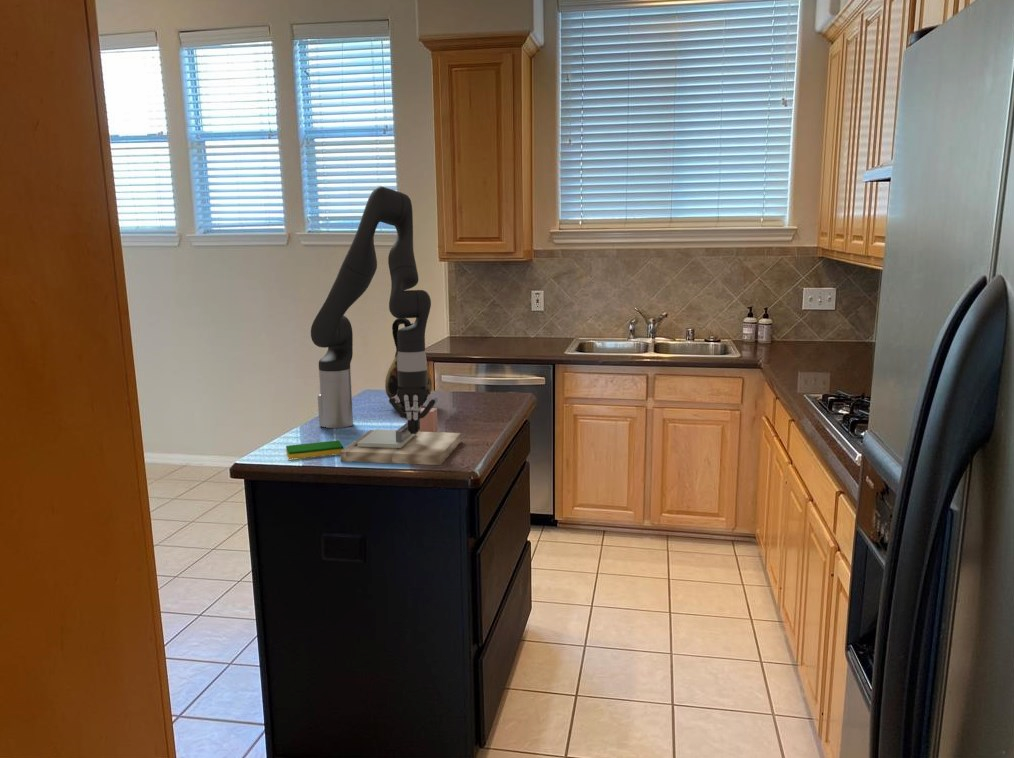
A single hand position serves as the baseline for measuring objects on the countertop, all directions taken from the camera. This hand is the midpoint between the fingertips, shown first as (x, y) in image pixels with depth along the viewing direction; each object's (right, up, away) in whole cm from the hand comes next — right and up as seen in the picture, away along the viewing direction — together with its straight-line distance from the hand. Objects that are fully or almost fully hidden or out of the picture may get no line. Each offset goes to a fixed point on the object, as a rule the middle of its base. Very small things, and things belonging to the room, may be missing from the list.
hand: (414, 433), depth 196 cm
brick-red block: (+2, -1, +19) cm, 20 cm away
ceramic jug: (-9, +4, +53) cm, 54 cm away
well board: (-4, -5, +1) cm, 6 cm away
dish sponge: (-26, -6, 0) cm, 27 cm away
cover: (-7, -2, +1) cm, 8 cm away
